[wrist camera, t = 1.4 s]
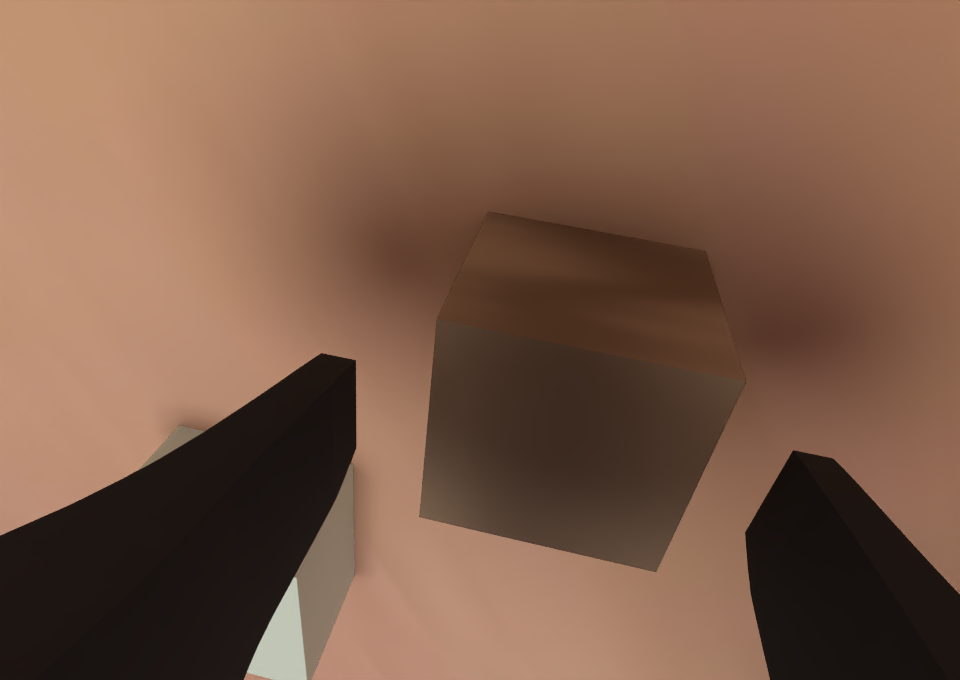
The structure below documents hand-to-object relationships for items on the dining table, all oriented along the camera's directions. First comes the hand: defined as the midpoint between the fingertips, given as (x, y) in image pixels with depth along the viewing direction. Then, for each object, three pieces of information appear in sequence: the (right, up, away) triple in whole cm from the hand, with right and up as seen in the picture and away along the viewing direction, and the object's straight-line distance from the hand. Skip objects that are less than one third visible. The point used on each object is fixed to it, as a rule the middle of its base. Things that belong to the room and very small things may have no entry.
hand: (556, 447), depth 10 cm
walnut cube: (+1, +2, +4) cm, 4 cm away
